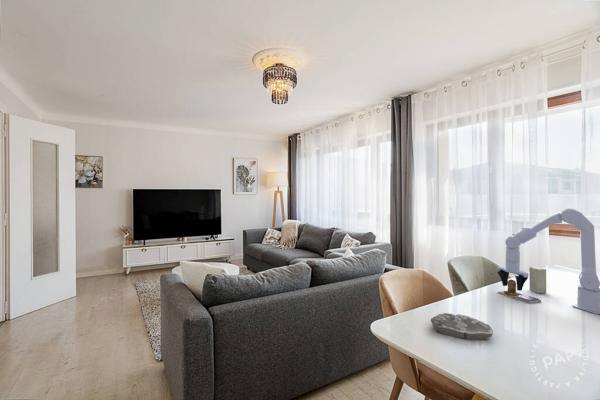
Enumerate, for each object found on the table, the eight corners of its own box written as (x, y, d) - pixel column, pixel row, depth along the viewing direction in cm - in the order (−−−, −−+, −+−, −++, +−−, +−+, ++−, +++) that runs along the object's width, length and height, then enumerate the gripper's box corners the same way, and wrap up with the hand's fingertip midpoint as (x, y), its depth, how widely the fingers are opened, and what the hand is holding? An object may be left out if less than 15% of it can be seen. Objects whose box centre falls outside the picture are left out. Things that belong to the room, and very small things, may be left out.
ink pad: (541, 302, 140) (541, 299, 140) (529, 303, 138) (529, 300, 138) (526, 297, 147) (526, 294, 147) (515, 298, 145) (515, 295, 145)
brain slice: (482, 324, 115) (482, 316, 115) (498, 345, 99) (498, 336, 99) (427, 318, 121) (427, 310, 121) (432, 337, 105) (433, 328, 105)
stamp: (519, 295, 148) (519, 280, 148) (512, 296, 147) (512, 281, 147) (511, 292, 153) (511, 278, 152) (504, 293, 152) (504, 278, 151)
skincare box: (546, 293, 152) (547, 269, 152) (537, 293, 153) (538, 269, 152) (537, 289, 159) (537, 266, 159) (528, 289, 159) (528, 266, 159)
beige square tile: (527, 297, 147) (527, 296, 147) (513, 298, 144) (513, 297, 144) (510, 291, 155) (510, 290, 155) (496, 292, 153) (496, 291, 153)
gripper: (493, 257, 156) (492, 284, 156) (520, 264, 142) (519, 293, 142) (504, 257, 157) (503, 283, 158) (532, 263, 143) (531, 292, 144)
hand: (512, 288), depth 150 cm, fingers open, 7 cm apart
